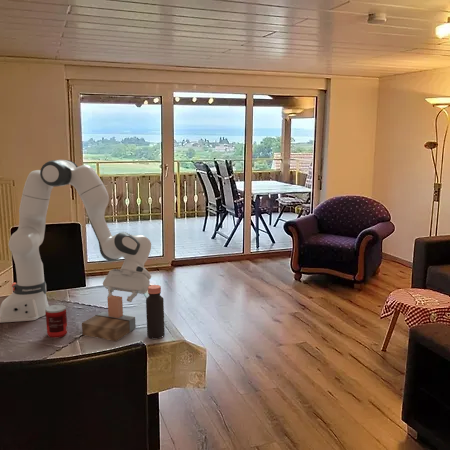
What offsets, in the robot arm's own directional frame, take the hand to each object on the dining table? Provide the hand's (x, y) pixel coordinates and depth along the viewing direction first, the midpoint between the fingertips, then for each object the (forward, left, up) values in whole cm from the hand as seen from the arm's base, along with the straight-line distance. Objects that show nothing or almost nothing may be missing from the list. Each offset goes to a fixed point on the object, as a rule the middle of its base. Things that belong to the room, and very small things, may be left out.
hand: (119, 299), depth 197 cm
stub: (-2, -2, -11) cm, 11 cm away
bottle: (+11, -16, -11) cm, 22 cm away
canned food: (-25, 0, -11) cm, 27 cm away
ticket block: (-7, -7, -11) cm, 15 cm away
